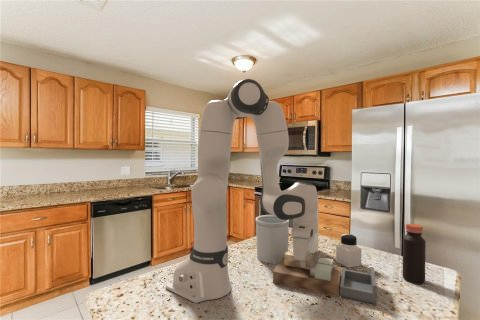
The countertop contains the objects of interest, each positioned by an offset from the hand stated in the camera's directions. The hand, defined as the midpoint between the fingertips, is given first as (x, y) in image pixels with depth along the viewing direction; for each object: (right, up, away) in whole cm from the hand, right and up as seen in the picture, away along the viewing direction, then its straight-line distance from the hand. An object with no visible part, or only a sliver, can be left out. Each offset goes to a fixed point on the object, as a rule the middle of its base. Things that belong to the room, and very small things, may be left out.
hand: (304, 263), depth 91 cm
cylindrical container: (+10, -6, +28) cm, 31 cm away
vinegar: (+40, -6, 0) cm, 40 cm away
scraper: (-1, -1, +1) cm, 2 cm away
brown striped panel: (+1, -6, -1) cm, 6 cm away
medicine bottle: (+22, -6, +14) cm, 27 cm away
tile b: (+7, -2, 0) cm, 8 cm away
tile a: (+5, -2, -6) cm, 8 cm away
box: (+16, -6, -8) cm, 18 cm away
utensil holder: (-9, -6, +20) cm, 23 cm away
